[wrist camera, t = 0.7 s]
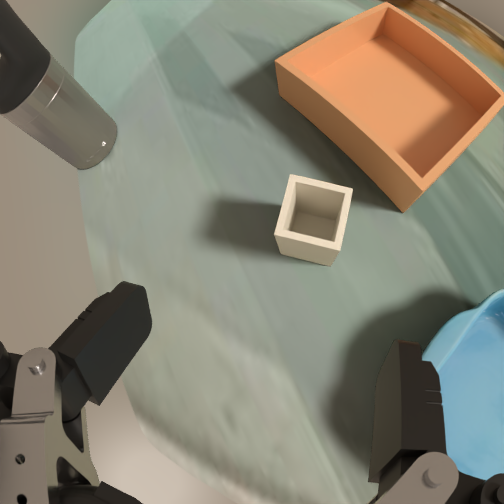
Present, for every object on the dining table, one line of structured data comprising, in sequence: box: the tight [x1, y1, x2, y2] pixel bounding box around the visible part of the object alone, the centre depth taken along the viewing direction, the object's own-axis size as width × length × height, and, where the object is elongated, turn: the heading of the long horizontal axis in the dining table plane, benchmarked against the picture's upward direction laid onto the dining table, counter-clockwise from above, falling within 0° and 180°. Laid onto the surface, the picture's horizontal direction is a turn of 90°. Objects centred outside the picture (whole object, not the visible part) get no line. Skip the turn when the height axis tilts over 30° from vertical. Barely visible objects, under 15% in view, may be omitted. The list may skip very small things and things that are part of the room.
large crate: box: [275, 2, 504, 213], centre depth 34 cm, size 22×22×7 cm
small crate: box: [274, 174, 353, 267], centre depth 31 cm, size 6×6×9 cm
